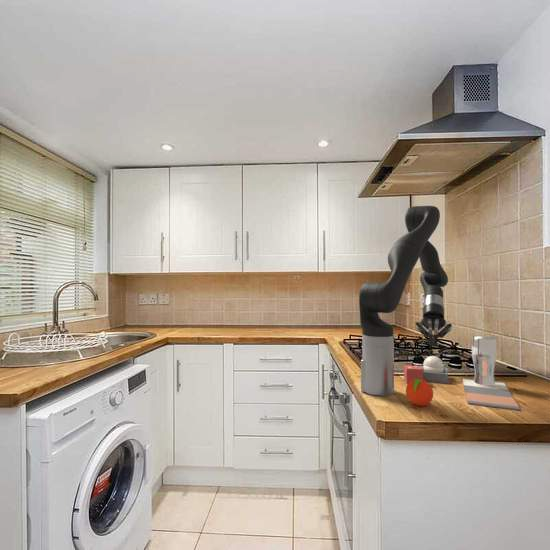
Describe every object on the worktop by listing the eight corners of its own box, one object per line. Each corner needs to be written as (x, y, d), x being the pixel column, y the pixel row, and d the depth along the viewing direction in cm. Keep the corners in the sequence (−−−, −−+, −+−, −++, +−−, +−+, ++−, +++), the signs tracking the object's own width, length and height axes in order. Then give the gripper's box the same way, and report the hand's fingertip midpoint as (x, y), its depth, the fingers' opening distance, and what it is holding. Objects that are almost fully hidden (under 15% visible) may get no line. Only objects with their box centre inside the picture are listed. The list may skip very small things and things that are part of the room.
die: (406, 384, 115) (406, 368, 115) (404, 379, 120) (403, 364, 120) (423, 384, 114) (422, 369, 114) (419, 380, 119) (419, 365, 119)
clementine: (428, 412, 90) (428, 384, 90) (401, 407, 94) (401, 380, 94) (436, 404, 96) (435, 378, 96) (410, 399, 100) (409, 374, 101)
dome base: (418, 380, 120) (418, 371, 120) (420, 374, 128) (420, 365, 128) (448, 383, 116) (448, 374, 116) (447, 376, 124) (447, 368, 124)
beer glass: (471, 385, 113) (470, 338, 113) (472, 380, 118) (472, 335, 119) (496, 388, 109) (496, 339, 109) (497, 383, 115) (496, 337, 115)
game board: (467, 403, 96) (467, 402, 96) (462, 378, 122) (462, 377, 122) (520, 410, 91) (520, 409, 91) (503, 382, 116) (503, 381, 116)
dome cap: (423, 375, 120) (422, 357, 120) (423, 371, 126) (423, 353, 126) (443, 378, 118) (443, 358, 118) (443, 373, 123) (443, 355, 124)
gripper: (414, 301, 138) (412, 337, 126) (452, 302, 132) (454, 340, 121) (415, 314, 142) (413, 350, 131) (452, 315, 137) (453, 353, 125)
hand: (433, 345), depth 126 cm, fingers closed
